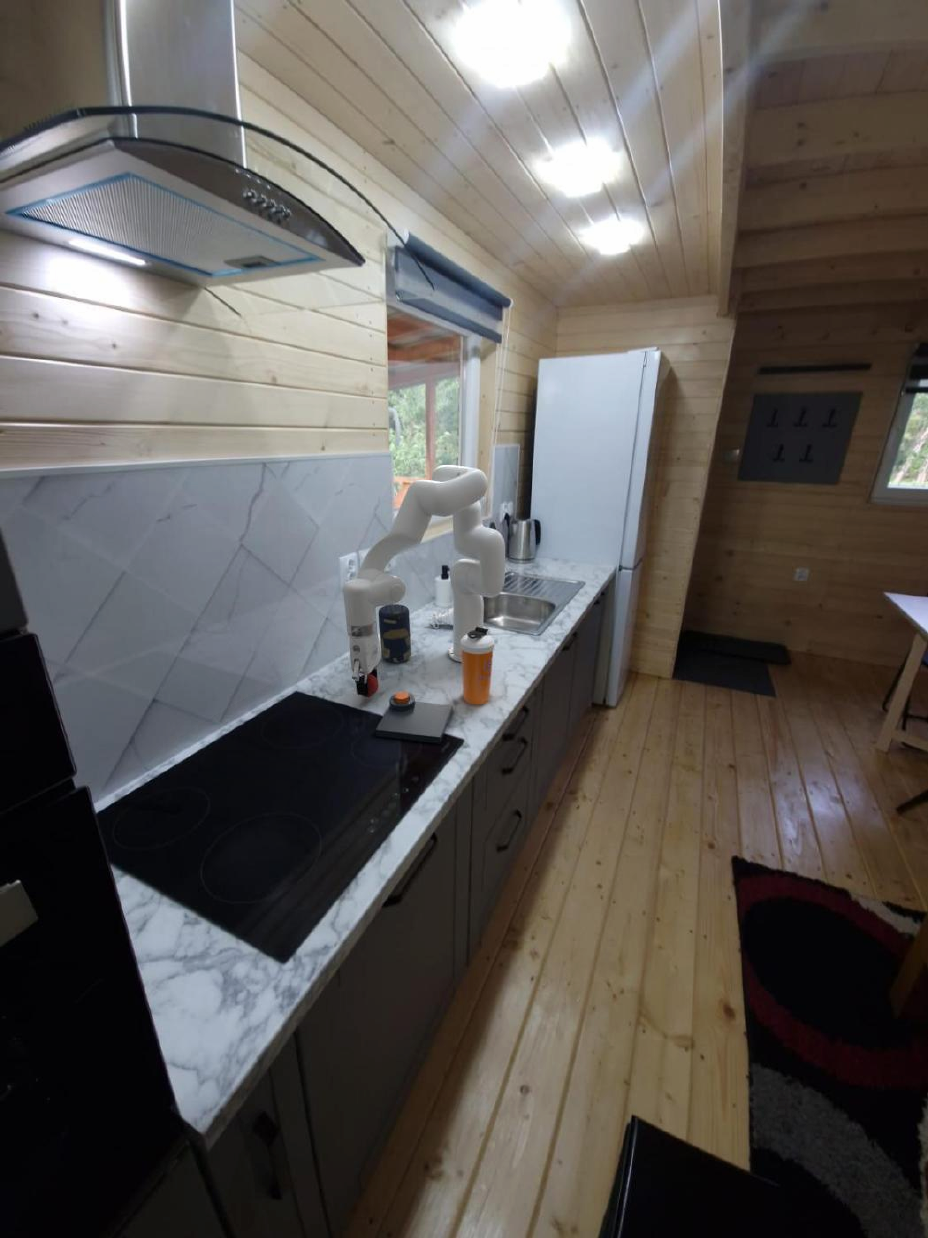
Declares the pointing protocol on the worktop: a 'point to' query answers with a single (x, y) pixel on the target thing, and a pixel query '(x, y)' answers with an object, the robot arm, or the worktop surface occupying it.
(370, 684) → the onion
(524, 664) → the worktop surface
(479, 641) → the shaker bottle
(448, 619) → the rocket engine
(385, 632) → the canister
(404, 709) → the scale
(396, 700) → the button
